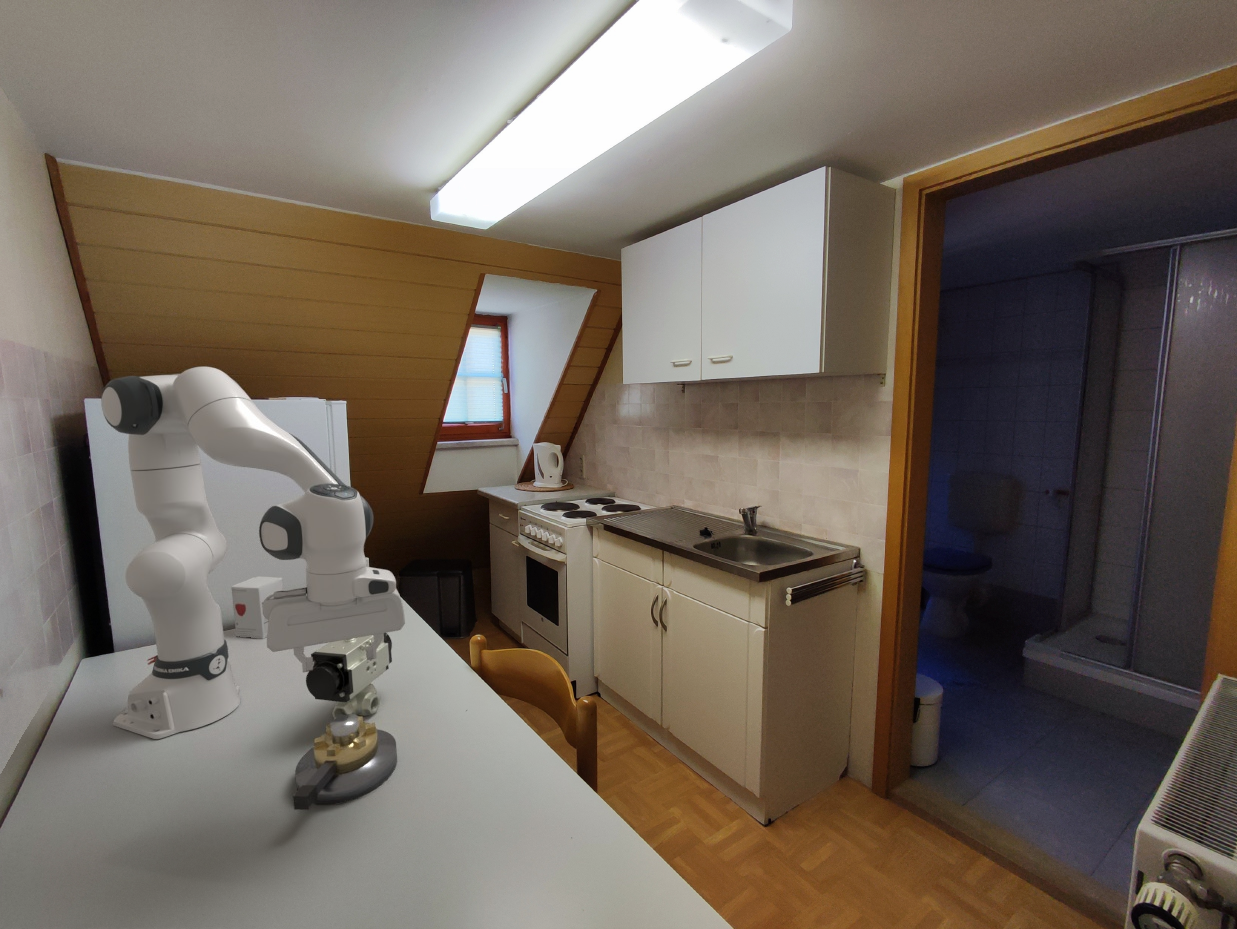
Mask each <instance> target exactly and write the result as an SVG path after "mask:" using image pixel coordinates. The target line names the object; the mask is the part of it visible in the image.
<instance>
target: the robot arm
mask: <svg viewBox="0 0 1237 929" xmlns="http://www.w3.org/2000/svg"><path fill="white" fill-rule="evenodd" d="M100 397H101V398H100V400H101V401H100V402H101V410H102V413H103V416H104V418H105V420H106V422H107V423H108V425H109V426H111V428H113V429H114V430H115V431H116V432H118V433H122V434H127V435H128V446H127V448H128V449H127V450H128V463H129V469H130V475H131V481H132V488H133V494H134V500H135V505H136V509H137V511H138V512H139V513H140V514H142V515H143V516H144V517H145V519H146V520H147V522H148V523H149V526H150V528H151V530H152V532H153V534H154V537H155V538H154V539H155V542H153V543H151V544H149V545H147V546H145V547H144V548H142V549H141V550H140V551H139V552H137V554H136V555H135V556H134V558H132V560H131V561H130V563H129V564H128V566H127V568H126V571H125V583H126V584H127V587H128V588H129V590H130V591H131V592H133V594H135V595H136V596H137V597H140V598H141V599H142V601H143V603H144V605H145V607H146V610H147V611H148V613H149V616H150V618H151V621H152V626H153V630H154V638H155V645H156V651H157V652H156V654H157V655H154V656H152V657H151V658H148V659H147V660H146V661H147V662H148V661H149V662H148V663H147V665H152V664H153V668H152V671H151V673H150V674H148V675H147V676H146V677H145V678H144V679H143V680H142V681H141V682H140V683H138V684H137V685H135V687H133V688H132V689H131V691H129V693H128V695H127V708H126V710H123V711H122V712H120V714H118V715H117V716H116V717H115V718H114V719H113V726H114V727H117V728H120V729H123V730H127V731H130V732H132V733H135V734H137V735H138V734H139V735H142V736H144V737H147V738H151V739H154V740H159V739H164V738H166V737H169V736H172V735H175V734H177V733H181V732H186V731H190V730H196V729H198V728H201V727H205V726H207V725H209V724H212V723H214V722H217V721H219V720H220V719H222V718H224V717H226V716H228V715H229V714H231V713H232V712H233V711H234V710H236V709H237V708H238V707H239V705H240V703H241V698H240V695H239V692H240V686H239V685H238V684H236V681H235V678H234V672H233V668H232V664H231V661H230V659H229V646H228V642H227V640H226V639H225V636H224V627H223V619H222V618H223V617H222V611H221V607H220V605H219V604H218V603H217V602H216V601H215V599H214V598H213V596H212V593H211V590H210V589H209V585H208V575H209V574H210V573H212V572H213V571H215V569H217V568H218V567H219V566H220V565H221V563H222V562H223V560H224V558H225V555H226V553H227V551H228V550H227V549H228V542H227V539H226V538H225V536H224V534H223V533H222V532H221V531H220V530H219V528H218V526H217V523H216V521H215V518H214V516H213V513H212V511H211V509H210V505H209V502H208V499H207V495H206V494H207V493H206V487H205V481H204V474H203V473H204V472H203V467H202V462H201V456H200V452H199V449H200V450H201V451H202V452H203V453H204V454H206V455H207V456H208V457H209V458H211V459H212V460H214V461H215V462H218V463H221V464H224V465H228V466H233V467H237V468H238V467H241V468H248V469H249V468H250V469H258V470H264V471H269V472H274V473H276V474H277V473H278V474H281V475H283V476H286V477H288V478H290V479H291V480H293V482H295V483H296V484H297V486H299V487H300V489H301V490H302V491H304V494H303V495H301V496H299V497H296V498H294V499H292V500H288V501H285V502H281V503H280V504H276V505H272V506H270V507H269V508H268V509H267V510H266V511H265V512H264V514H263V516H262V518H261V520H260V524H259V527H258V528H259V530H258V534H259V535H258V536H259V541H260V545H261V547H262V548H263V550H264V551H265V552H266V553H267V554H269V555H270V556H271V557H274V559H277V560H279V561H291V560H292V561H293V560H297V559H302V560H304V561H305V563H306V567H305V579H306V581H305V582H306V583H305V584H306V587H300V588H293V589H289V590H283V591H277V592H274V594H272V595H270V596H268V597H267V598H266V599H265V600H264V602H263V615H264V617H265V618H266V619H267V620H269V622H268V630H267V637H266V648H267V649H269V650H270V651H271V652H274V653H275V652H280V651H287V650H293V655H294V656H295V658H296V659H297V660H298V661H299V662H300V663H301V664H302V665H301V666H302V673H308V672H309V671H313V657H311V656H308V657H307V656H306V654H305V653H304V652H305V649H304V648H305V647H309V646H311V647H312V646H316V645H323V644H328V643H330V642H335V641H341V640H346V639H352V638H358V637H364V636H370V635H373V637H374V641H373V643H372V645H371V646H369V647H366V652H367V653H366V658H367V660H371V659H376V649H377V648H378V647H379V645H380V643H381V641H382V640H383V633H387V634H388V633H393V632H397V631H401V630H402V629H403V627H404V626H405V624H406V617H405V609H404V604H403V600H402V598H401V596H400V593H399V591H398V589H397V580H396V576H394V574H393V572H392V571H390V570H388V569H383V568H376V567H370V566H367V564H368V563H367V558H366V556H365V552H364V551H365V550H364V549H365V543H366V540H367V538H368V537H369V535H370V534H371V531H372V528H373V525H374V512H373V509H372V507H371V506H370V504H369V503H368V501H367V500H366V499H365V498H364V497H363V496H362V495H361V494H360V492H359V491H358V490H357V489H355V488H354V487H352V486H350V485H346V484H345V482H343V481H342V480H341V479H340V478H339V477H338V476H337V475H336V474H335V473H334V472H333V471H332V470H331V468H329V467H328V466H327V465H326V463H324V462H323V460H321V459H320V458H319V457H318V455H317V454H316V453H315V452H314V451H313V450H312V449H310V447H308V445H307V444H305V443H304V442H303V441H302V440H301V439H300V438H299V437H297V436H295V435H294V434H291V433H290V432H288V431H286V430H284V429H283V428H282V427H280V426H278V425H277V424H276V423H275V422H273V421H272V420H271V419H270V418H268V417H267V416H266V415H265V414H264V413H263V412H262V411H261V410H260V409H259V407H257V405H256V404H255V402H254V401H253V400H252V398H251V397H250V396H249V395H248V393H246V391H245V390H244V389H243V388H242V387H241V385H240V384H239V383H238V382H237V381H236V380H234V379H233V378H231V377H230V376H229V375H228V374H227V373H225V372H224V371H222V370H221V369H218V368H215V367H211V366H196V367H191V368H188V369H185V370H184V371H183V372H181V373H173V374H161V375H160V374H159V375H157V374H156V375H146V376H137V375H129V376H123V377H118V378H113V379H111V380H110V381H109V382H107V383H106V385H105V386H104V387H103V389H102V392H101V396H100ZM272 597H274V598H272ZM270 598H272V599H270Z"/></svg>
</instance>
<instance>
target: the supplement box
mask: <svg viewBox="0 0 1237 929" xmlns="http://www.w3.org/2000/svg"><path fill="white" fill-rule="evenodd" d="M283 584H284V583H283V577H276V576H275V577H272V576H253V577H252V578H249V579H246V580H244V581H241V582H238V583H236V584H234V585H231V587H230V588H231V596H232V604H233V605H232V608H233V614H234V615H233V617H234V624H235V625H234V626H235V636H240V637H239V638H246V637H251V638H250V639H259V638H262V640H263V638H264V639H266V638H267V630H268V622H269V620H267V619H266V618H265V617H264V615H263V602H264V600H265V599H266V598H267V597H268V596H270V595H272V594H274V592H277V591H284V585H283ZM272 598H274V597H272ZM272 598H270V599H272ZM265 637H266V638H265Z"/></svg>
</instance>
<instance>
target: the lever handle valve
mask: <svg viewBox="0 0 1237 929" xmlns="http://www.w3.org/2000/svg"><path fill="white" fill-rule="evenodd" d="M358 718H359V731H360V735H359V737H357V738H356V739H354V740H353V742H351V743H348V744H344V745H340V744H333V743H332V736H331V723H330V724H327V725H325V728H326V732H324V733H323V734H321V735H320V736H319V737H315V738H314V745H313V747H314V756H315V766H316V768H317V769H318V770H317V771H316V773H315V774H314V775H313V776H312V777H311V778H310V780H309V781H308V782H307V783H306V784H305V785H302V786H301V788H300V789H299V790H298V791H297V790H296V792H295V794H293V796H292V800H293V801H292V802H293V810H296V811H298V810H299V811H300V810H301V811H302V810H303V811H308V810H310V808H311V807H312V806H313V805H314V804H313V803H314V802H315V801H316V799H317V795H318V794H319V793H320V792H321V790H322V789H323V788H324V786H325V785H326V784H327V783H328V781H329V780H330V779H331V778H332V776H333V775H334V774H338V773H344V772H348V771H351V770H354V769H356V768H358V767H360V766H362V765H364V764H365V763H367V762H368V761H370V760H371V759H372V758H373V757H374V756H375V754H376V753H377V750H378V738H377V729H378V728H377V727H376V726H377V725H376V722H375V721H374V722H372V723H370V722H366V721H365V722H364V717H363V716H358Z"/></svg>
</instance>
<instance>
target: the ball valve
mask: <svg viewBox="0 0 1237 929" xmlns="http://www.w3.org/2000/svg"><path fill="white" fill-rule="evenodd" d="M373 641H374V637H373V635H370V636H364V637H358V638H352V639H346V640H341V641H335V642H329V643H325V645H324V646H322V647H320V648H318V649H316V651H314V652H312V653H311V654H310V657H313V671H308V672H307V673H306V677H305V685H306V687H307V691H308V692H309V694H311V695H312V696H313V698H314V699H315V700H321V701H328V702H330V701H331V702H336V704H335V706H334V708H333V709H332V712H331V715H332V717H333V720H334V719H336V718H337V717H340V716H342V715H346V714H355V715H357V716H364V717H365V716H369V715H373V714H375V713H376V712H377V711H378V710H379V707H380V705H381V704H380V703H381V698H380V696H379V695H378V694H377V693H378V691H377V688H376V686H375V685H374V684H373V682H374V681H375V680H376V679H377V678H379V677H380V676H381V675H383V674H384V673H385V672H386V671H387V670H389V667H390V666H389V665H390V664H392V663H393V658H392V648H393V643H392V639H391V637H390V635H389V634H388V632H387V633H383V640H382V641H381V643H380V645H379V647H378V648H377V649H376V659H371V660H367V658H366V653H367V652H366V647H369V646H371V645H372V643H373Z"/></svg>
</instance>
